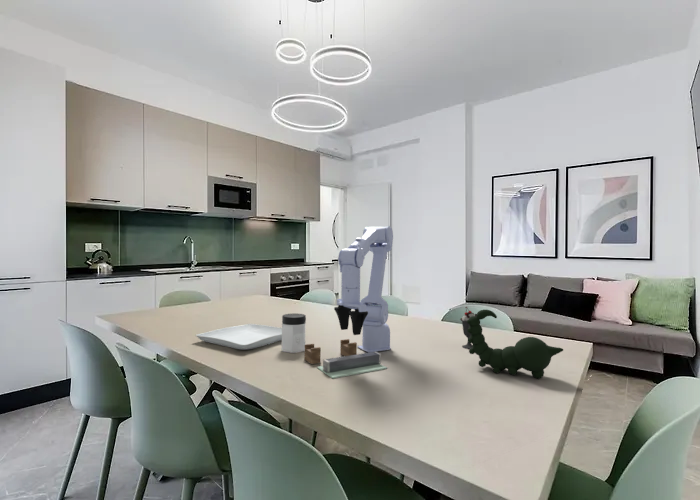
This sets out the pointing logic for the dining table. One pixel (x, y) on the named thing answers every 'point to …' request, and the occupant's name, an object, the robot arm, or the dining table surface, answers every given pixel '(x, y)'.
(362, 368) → the mat
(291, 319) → the jar
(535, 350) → the toy figurine
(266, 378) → the dining table surface
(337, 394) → the dining table surface
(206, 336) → the square plate
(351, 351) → the post
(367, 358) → the rail
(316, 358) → the post
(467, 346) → the sundae
